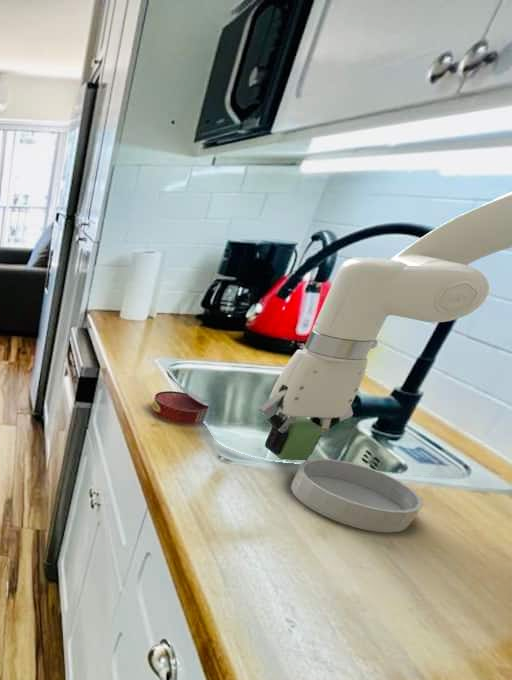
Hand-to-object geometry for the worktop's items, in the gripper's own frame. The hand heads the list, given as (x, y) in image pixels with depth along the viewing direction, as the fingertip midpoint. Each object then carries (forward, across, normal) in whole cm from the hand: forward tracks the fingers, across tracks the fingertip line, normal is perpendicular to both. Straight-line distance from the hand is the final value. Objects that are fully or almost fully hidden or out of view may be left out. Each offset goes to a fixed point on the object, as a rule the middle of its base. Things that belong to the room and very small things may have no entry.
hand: (287, 449), depth 81 cm
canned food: (+2, +10, -18) cm, 21 cm away
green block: (+1, 0, 0) cm, 1 cm away
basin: (+2, -2, +12) cm, 12 cm away
